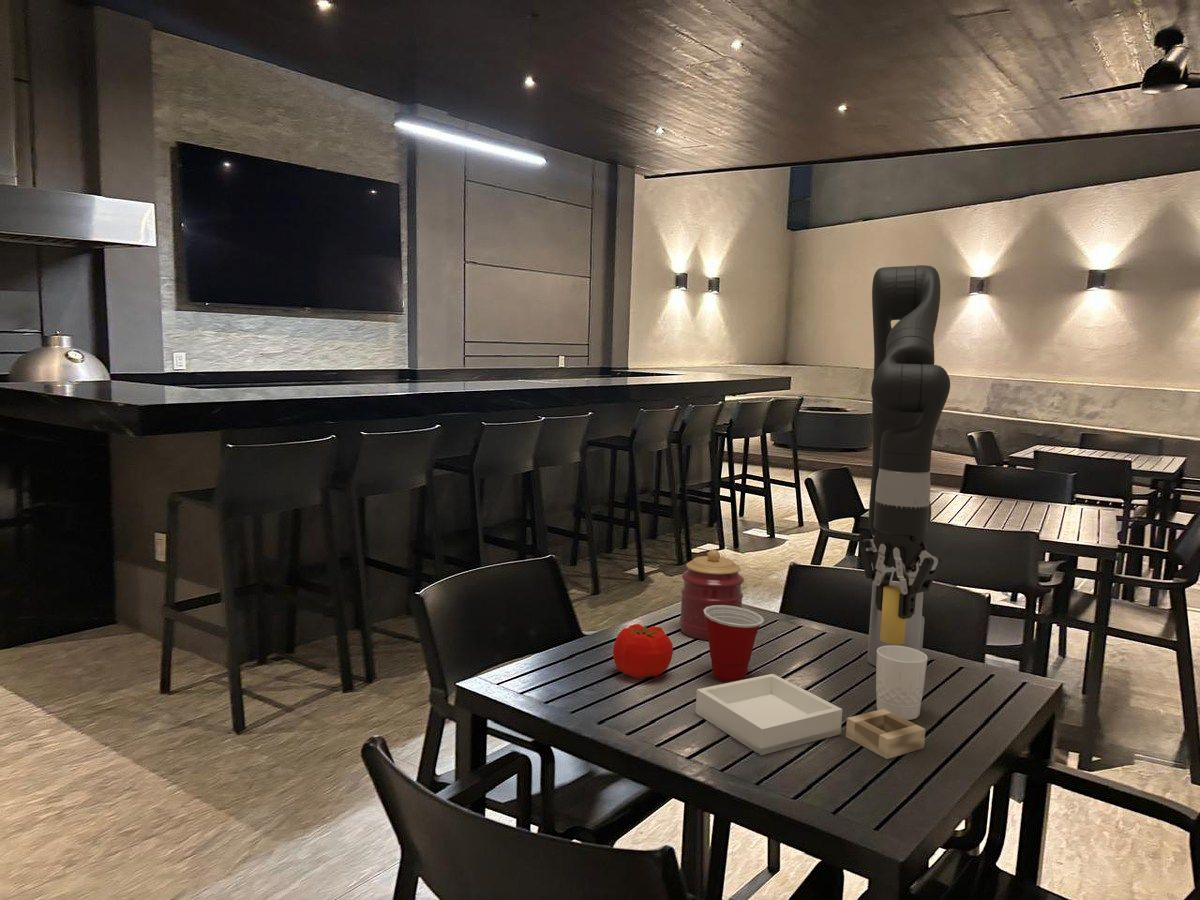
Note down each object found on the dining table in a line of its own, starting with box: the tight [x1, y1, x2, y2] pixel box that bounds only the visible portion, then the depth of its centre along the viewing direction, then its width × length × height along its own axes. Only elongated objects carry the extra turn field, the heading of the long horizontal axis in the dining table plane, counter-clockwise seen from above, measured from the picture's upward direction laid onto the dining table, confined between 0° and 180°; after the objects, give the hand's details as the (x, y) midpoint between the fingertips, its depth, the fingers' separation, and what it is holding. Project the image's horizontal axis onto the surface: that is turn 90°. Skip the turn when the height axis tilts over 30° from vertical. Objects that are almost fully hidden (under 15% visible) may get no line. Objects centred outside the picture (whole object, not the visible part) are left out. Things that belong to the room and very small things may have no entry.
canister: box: [679, 549, 745, 641], centre depth 174 cm, size 13×13×18 cm
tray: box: [695, 673, 843, 756], centre depth 131 cm, size 16×16×4 cm
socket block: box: [845, 709, 926, 760], centre depth 126 cm, size 8×8×3 cm
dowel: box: [880, 585, 906, 645], centre depth 124 cm, size 4×4×8 cm
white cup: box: [875, 645, 929, 721], centre depth 137 cm, size 8×8×10 cm
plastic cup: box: [704, 605, 765, 683], centre depth 149 cm, size 11×11×12 cm
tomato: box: [612, 623, 674, 679], centre depth 150 cm, size 11×11×9 cm
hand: (894, 613), depth 124 cm, fingers closed on dowel, 3 cm apart
